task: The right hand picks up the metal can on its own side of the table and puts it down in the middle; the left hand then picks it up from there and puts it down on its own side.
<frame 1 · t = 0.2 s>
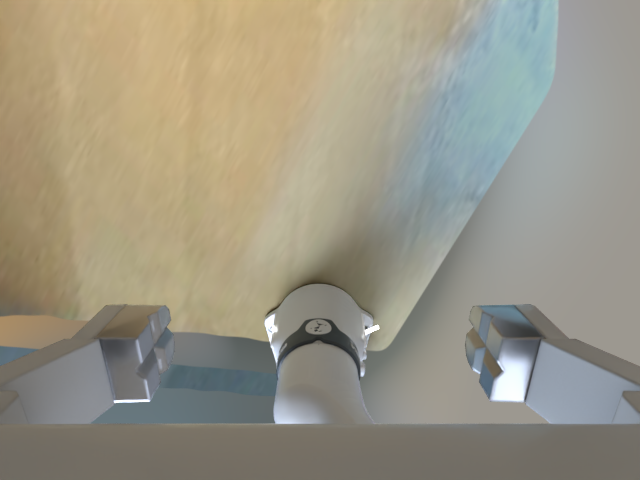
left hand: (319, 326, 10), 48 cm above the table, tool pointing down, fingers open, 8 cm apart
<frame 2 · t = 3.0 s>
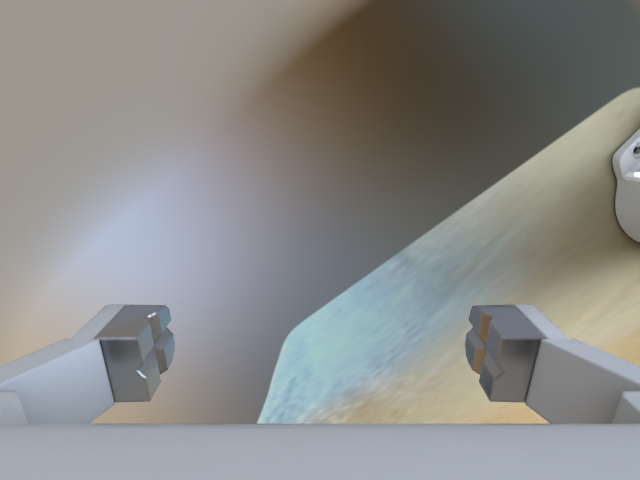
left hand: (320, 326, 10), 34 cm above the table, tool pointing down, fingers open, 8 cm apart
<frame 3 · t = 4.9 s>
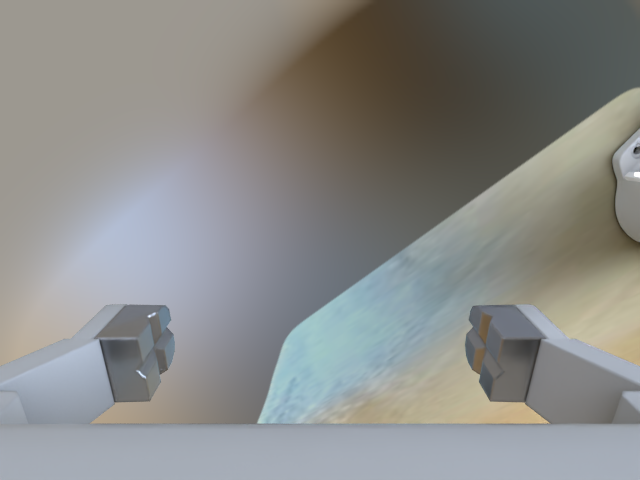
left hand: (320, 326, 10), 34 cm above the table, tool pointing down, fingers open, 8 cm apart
when the right hand's fingers open (1 cm above the table, at t = 6.9 s): can stays where it is, on the table.
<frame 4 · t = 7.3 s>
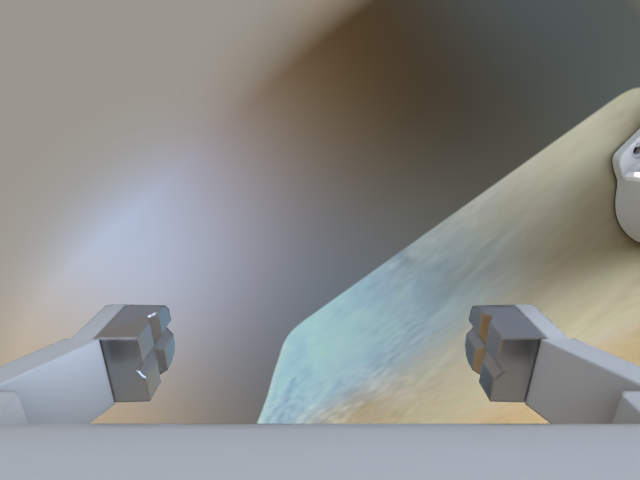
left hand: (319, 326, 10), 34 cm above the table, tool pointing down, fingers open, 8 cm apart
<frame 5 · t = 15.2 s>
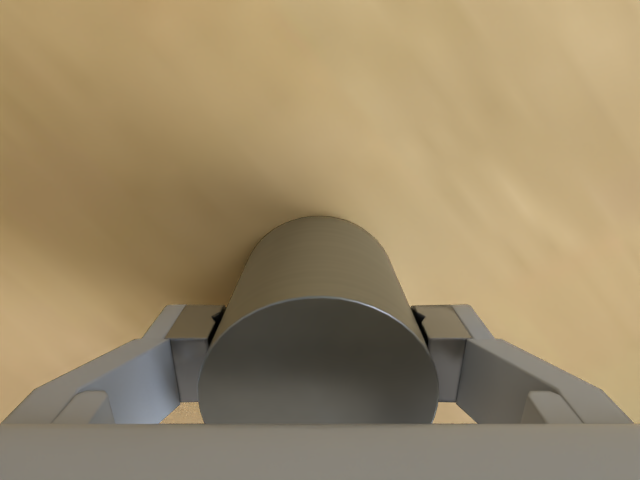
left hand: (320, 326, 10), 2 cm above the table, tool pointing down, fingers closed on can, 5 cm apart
can: (318, 287, 12), on the table, touching left hand
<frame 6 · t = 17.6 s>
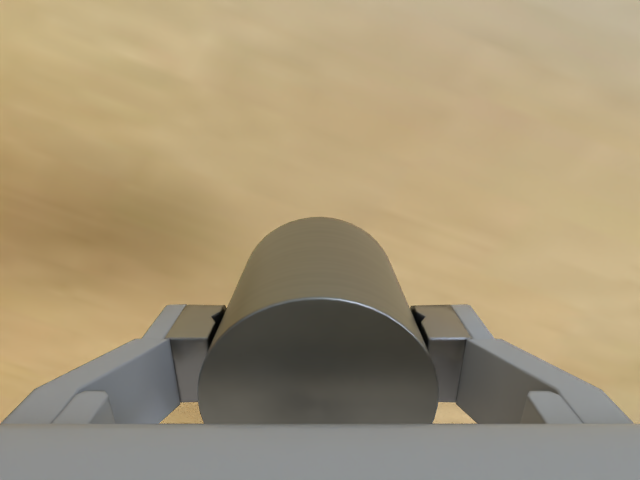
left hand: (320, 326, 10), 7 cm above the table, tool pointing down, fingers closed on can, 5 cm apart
can: (318, 288, 12), point 4 cm above the table, touching left hand
when the left hand's fingers open (3 cm above the table, at t = 20.4 s): can stays where it is, on the table.
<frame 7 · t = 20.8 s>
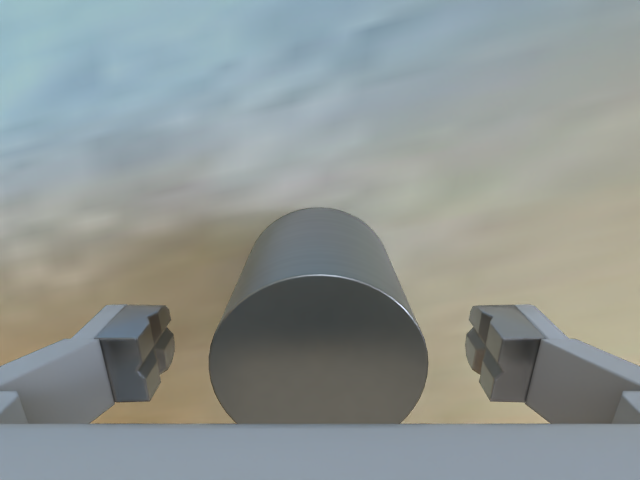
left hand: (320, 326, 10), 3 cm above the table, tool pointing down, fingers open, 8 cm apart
can: (318, 275, 13), on the table
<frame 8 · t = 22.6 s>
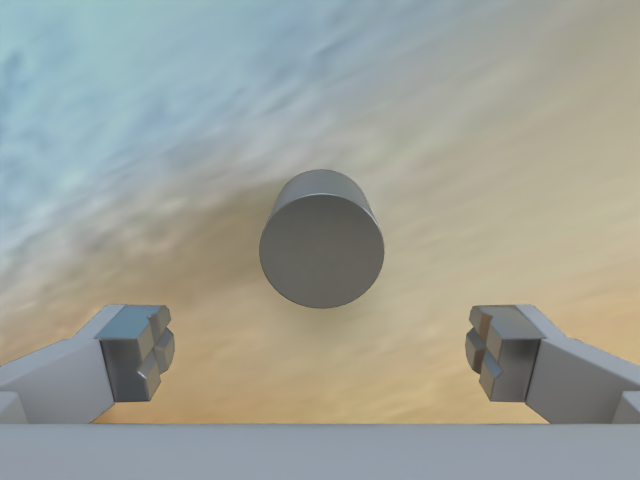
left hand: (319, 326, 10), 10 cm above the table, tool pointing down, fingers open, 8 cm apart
can: (321, 217, 20), on the table
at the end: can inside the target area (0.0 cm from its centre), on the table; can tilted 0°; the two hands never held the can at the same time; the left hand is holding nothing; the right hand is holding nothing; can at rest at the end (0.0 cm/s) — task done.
